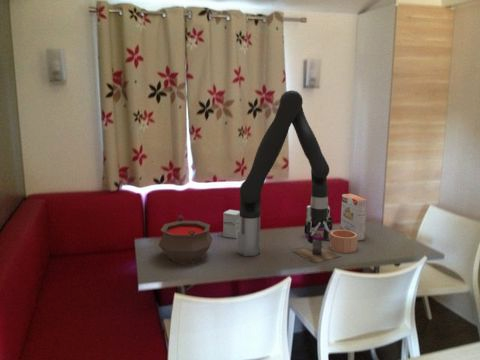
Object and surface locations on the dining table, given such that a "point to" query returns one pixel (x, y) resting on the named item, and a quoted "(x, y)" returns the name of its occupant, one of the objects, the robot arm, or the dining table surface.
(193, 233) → the brown cooking pot
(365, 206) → the cracker box
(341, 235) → the terracotta bowl
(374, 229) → the dining table surface
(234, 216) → the supplement box
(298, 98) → the robot arm
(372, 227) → the dining table surface
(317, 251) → the walnut lid
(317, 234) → the candy bar box
